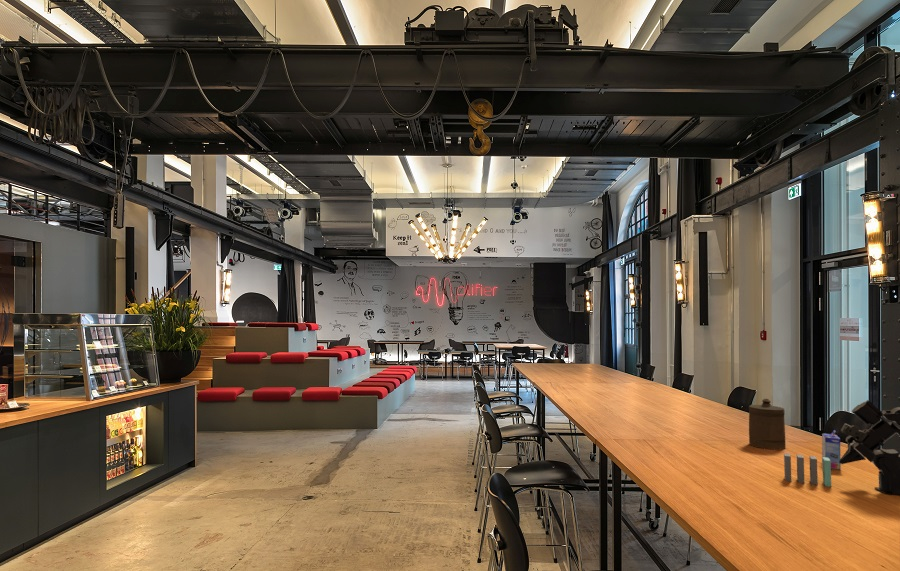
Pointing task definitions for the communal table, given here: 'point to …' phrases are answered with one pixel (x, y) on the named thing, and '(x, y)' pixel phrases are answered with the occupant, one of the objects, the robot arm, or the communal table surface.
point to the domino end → (787, 466)
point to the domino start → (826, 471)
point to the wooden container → (767, 426)
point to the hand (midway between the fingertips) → (840, 462)
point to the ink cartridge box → (831, 449)
